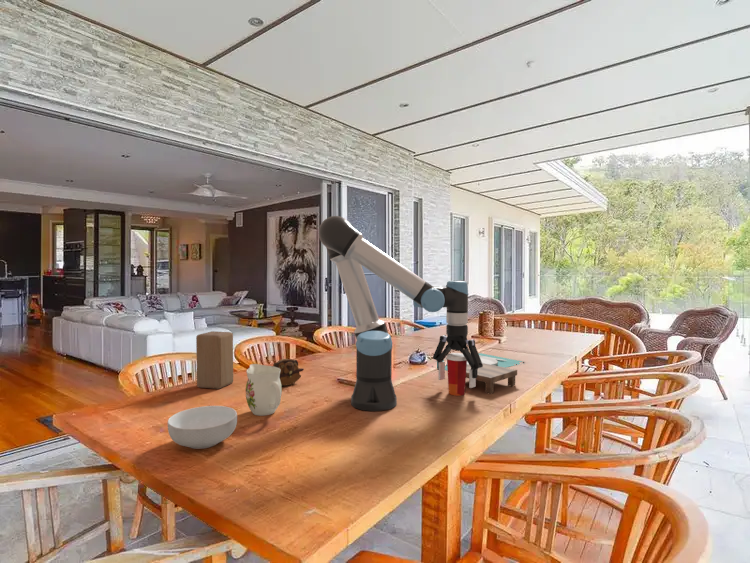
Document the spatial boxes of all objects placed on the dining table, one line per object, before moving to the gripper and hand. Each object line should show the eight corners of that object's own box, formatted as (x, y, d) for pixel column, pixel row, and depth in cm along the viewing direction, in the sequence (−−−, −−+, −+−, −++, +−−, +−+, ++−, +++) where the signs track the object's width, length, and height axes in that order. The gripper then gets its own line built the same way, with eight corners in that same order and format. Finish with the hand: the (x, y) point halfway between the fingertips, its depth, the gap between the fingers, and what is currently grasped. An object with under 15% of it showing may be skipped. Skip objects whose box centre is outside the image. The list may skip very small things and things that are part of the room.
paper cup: (466, 390, 161) (466, 352, 160) (468, 397, 153) (469, 357, 152) (444, 390, 161) (445, 352, 161) (446, 396, 154) (446, 356, 153)
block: (195, 388, 163) (195, 334, 163) (211, 381, 173) (211, 330, 172) (219, 389, 161) (218, 335, 160) (234, 382, 171) (233, 331, 170)
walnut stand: (490, 394, 156) (490, 377, 156) (450, 384, 169) (450, 368, 169) (517, 385, 168) (517, 369, 168) (477, 376, 181) (477, 362, 181)
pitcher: (262, 425, 126) (262, 377, 125) (236, 409, 139) (236, 366, 139) (295, 416, 133) (295, 371, 132) (268, 402, 147) (267, 361, 146)
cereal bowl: (158, 442, 114) (157, 415, 113) (219, 425, 125) (219, 401, 125) (183, 463, 101) (183, 433, 101) (249, 443, 113) (249, 416, 113)
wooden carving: (272, 391, 159) (272, 364, 159) (264, 389, 162) (264, 362, 162) (305, 381, 172) (305, 356, 172) (297, 380, 175) (297, 355, 175)
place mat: (470, 379, 180) (470, 374, 180) (418, 366, 204) (418, 361, 203) (531, 364, 208) (531, 359, 208) (479, 353, 232) (479, 349, 232)
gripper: (493, 326, 150) (492, 388, 150) (436, 320, 168) (436, 374, 169) (480, 329, 144) (480, 392, 145) (423, 321, 163) (423, 378, 164)
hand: (456, 383), depth 157 cm, fingers open, 13 cm apart
